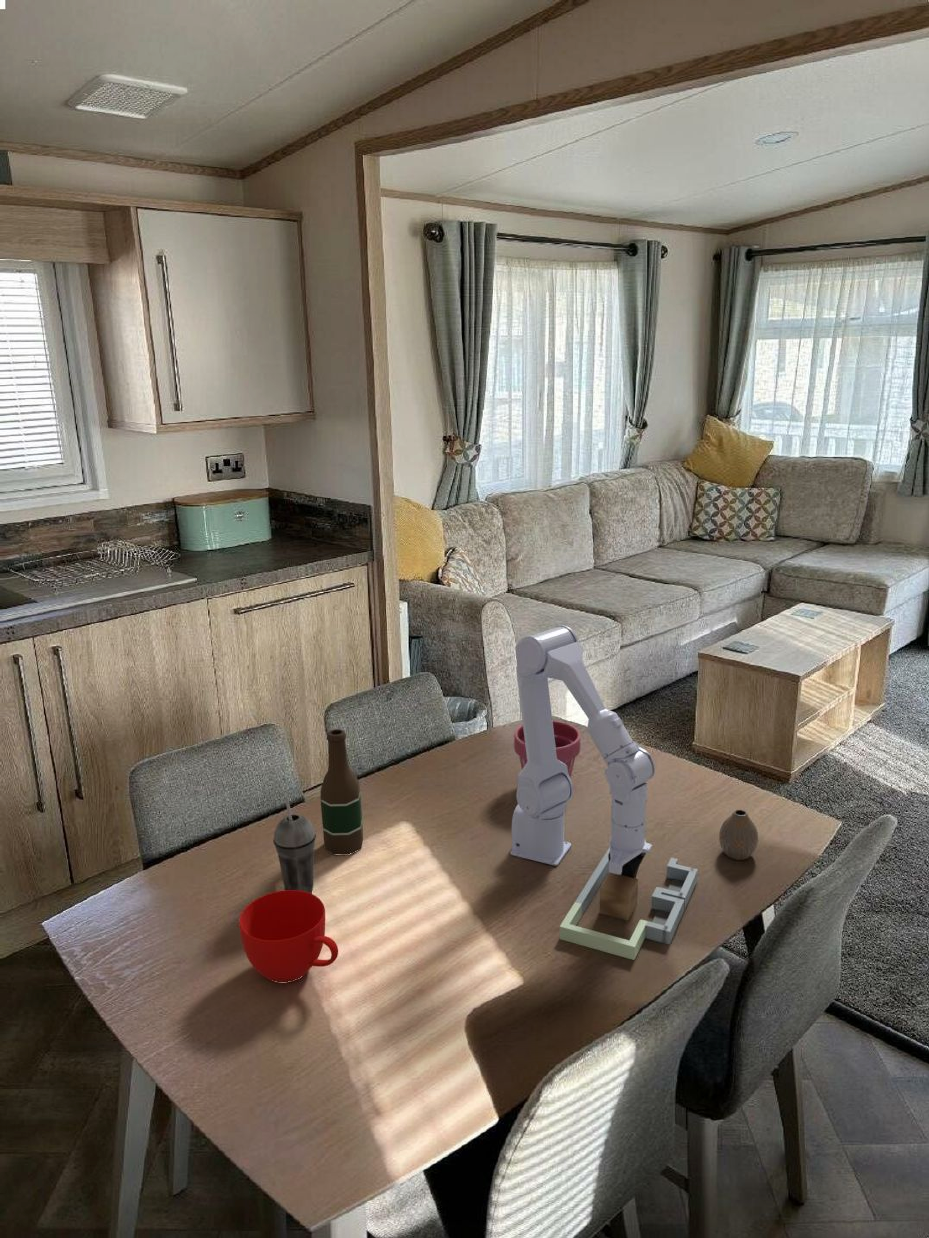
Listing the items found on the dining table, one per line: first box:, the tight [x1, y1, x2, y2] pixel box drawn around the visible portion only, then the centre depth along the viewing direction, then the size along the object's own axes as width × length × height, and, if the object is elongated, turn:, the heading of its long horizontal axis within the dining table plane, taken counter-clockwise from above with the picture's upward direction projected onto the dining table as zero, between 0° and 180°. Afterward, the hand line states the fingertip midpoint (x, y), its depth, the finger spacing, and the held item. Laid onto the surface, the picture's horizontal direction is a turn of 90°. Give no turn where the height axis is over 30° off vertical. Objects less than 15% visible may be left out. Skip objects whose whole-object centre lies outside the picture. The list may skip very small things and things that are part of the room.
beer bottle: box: [320, 728, 364, 855], centre depth 171 cm, size 8×8×24 cm
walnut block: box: [598, 872, 639, 922], centre depth 153 cm, size 5×5×5 cm
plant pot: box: [513, 720, 582, 778], centre depth 194 cm, size 14×14×13 cm
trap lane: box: [559, 846, 699, 961], centre depth 154 cm, size 16×27×2 cm, turn 153°
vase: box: [718, 808, 759, 861], centre depth 167 cm, size 7×7×9 cm
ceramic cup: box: [238, 889, 339, 982], centre depth 138 cm, size 13×17×10 cm
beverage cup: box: [272, 796, 317, 894], centre depth 156 cm, size 7×7×20 cm
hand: (626, 888), depth 157 cm, fingers closed
